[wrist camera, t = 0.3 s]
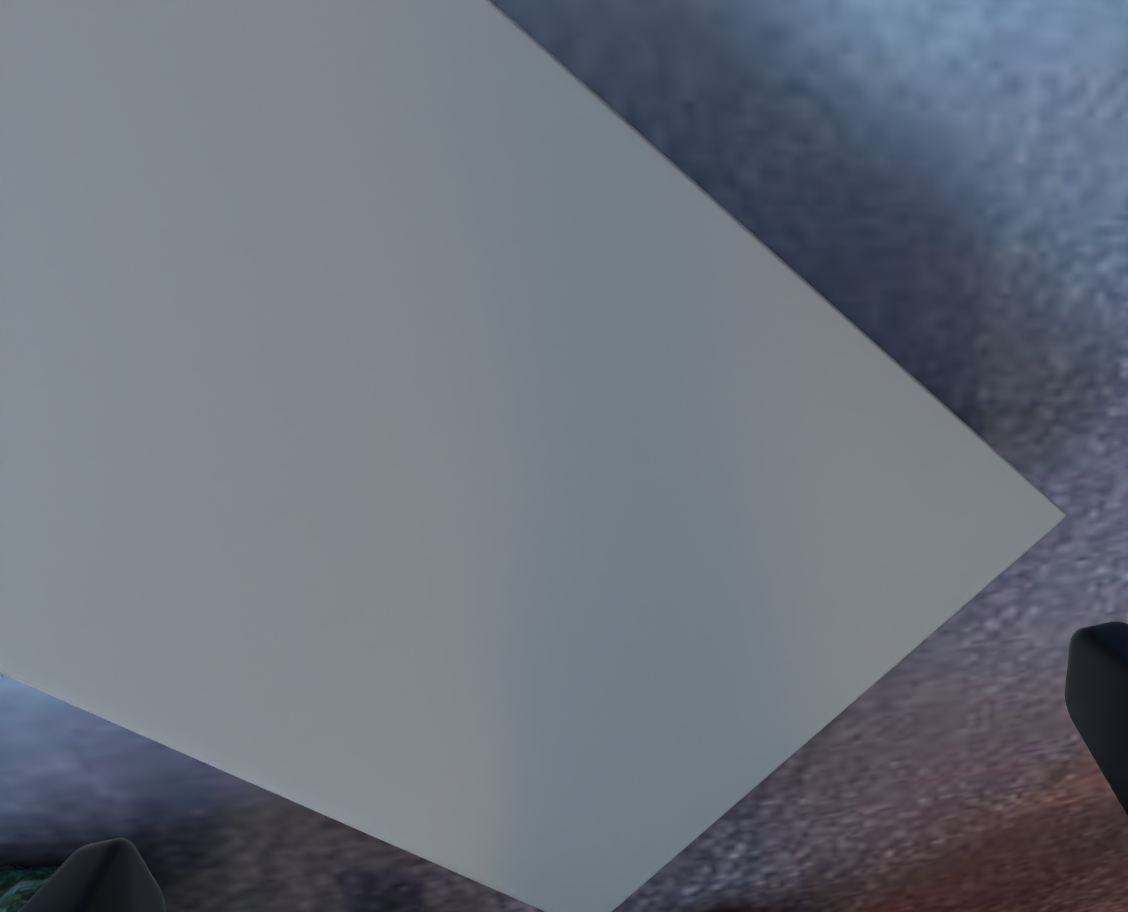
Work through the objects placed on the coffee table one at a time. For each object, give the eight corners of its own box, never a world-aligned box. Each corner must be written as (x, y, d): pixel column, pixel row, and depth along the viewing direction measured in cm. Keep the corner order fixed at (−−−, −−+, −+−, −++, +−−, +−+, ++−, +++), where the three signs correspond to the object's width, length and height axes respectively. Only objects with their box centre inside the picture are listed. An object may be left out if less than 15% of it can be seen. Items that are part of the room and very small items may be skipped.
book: (53, -391, 12) (1069, 516, 21) (139, -313, 16) (984, 440, 24) (-392, 551, 18) (566, 953, 27) (-258, 457, 21) (552, 842, 30)
